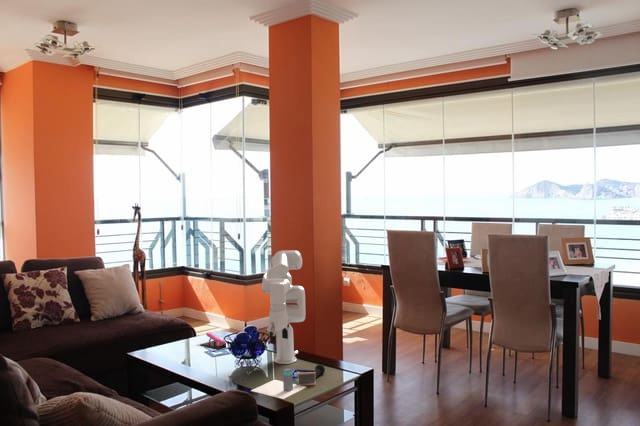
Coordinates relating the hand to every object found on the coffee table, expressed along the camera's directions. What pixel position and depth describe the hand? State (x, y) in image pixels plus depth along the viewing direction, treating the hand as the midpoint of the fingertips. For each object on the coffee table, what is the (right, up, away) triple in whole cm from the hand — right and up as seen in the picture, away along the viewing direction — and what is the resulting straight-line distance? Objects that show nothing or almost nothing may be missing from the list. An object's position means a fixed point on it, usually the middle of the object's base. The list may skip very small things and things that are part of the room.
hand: (279, 340), depth 272 cm
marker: (+5, -22, -8) cm, 24 cm away
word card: (+14, -22, 0) cm, 26 cm away
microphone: (+17, -22, +10) cm, 30 cm away
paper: (0, -22, -5) cm, 23 cm away
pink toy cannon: (-45, -21, +76) cm, 91 cm away
